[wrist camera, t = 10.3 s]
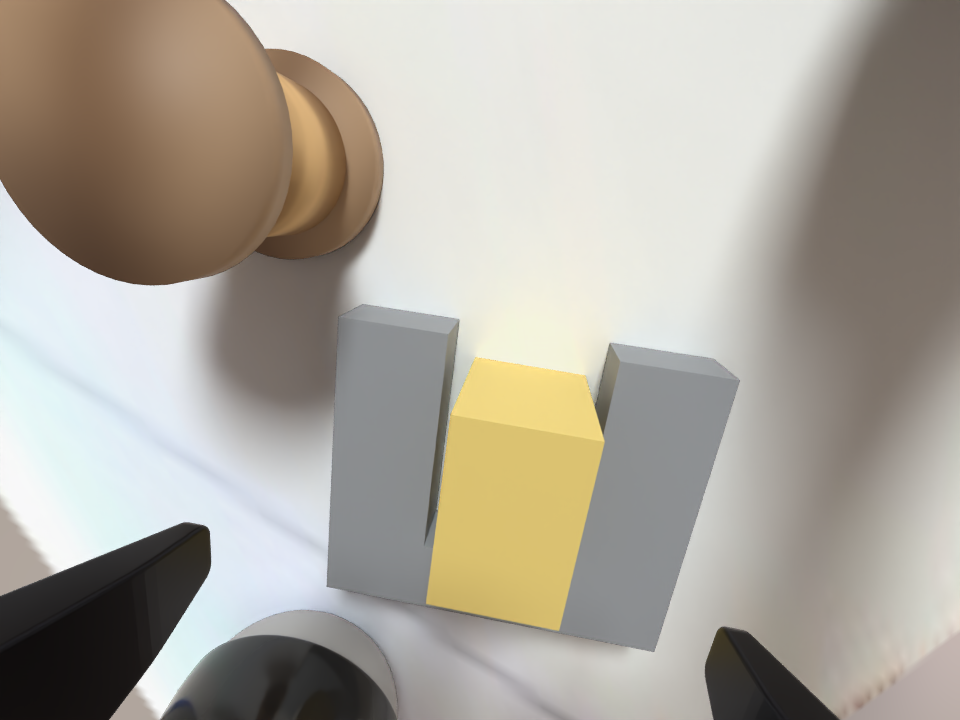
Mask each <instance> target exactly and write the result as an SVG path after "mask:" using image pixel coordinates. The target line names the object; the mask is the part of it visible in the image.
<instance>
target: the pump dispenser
mask: <svg viewBox="0 0 960 720" xmlns="http://www.w3.org/2000/svg"><path fill="white" fill-rule="evenodd" d="M160 720H398V704H397V695H396V688H395V684H394V680H393V676H392V673H391V670H390V668H389V665H388V663H387V661H386V659H385V657H384V656H383V654H382V652H381V651H380V649H379V648H378V647H377V645H376V644H375V643H374V641H373V640H372V639H371V638H370V637H369V636H368V635H367V634H365V633H364V632H363V631H362V630H361V629H359V628H358V627H357V626H355V625H354V624H352V623H351V622H349V621H347V620H345V619H343V618H340V617H338V616H335V615H333V614H329V613H325V612H320V611H313V610H295V611H287V612H283V613H279V614H275V615H272V616H269V617H267V618H264V619H262V620H260V621H258V622H256V623H254V624H252V625H250V626H249V627H247V628H245V629H244V630H242V631H241V632H239V633H238V634H237V635H235V636H234V637H233V638H232V639H230V640H229V641H228V642H226V643H224V644H222V645H220V646H218V647H216V648H215V649H213V650H212V651H210V652H209V653H208V654H207V655H206V656H204V657H203V658H202V659H201V661H200V662H199V663H198V664H197V665H196V666H195V668H194V669H193V670H192V672H191V673H190V674H189V676H188V677H187V678H186V680H185V681H184V682H183V684H182V685H181V687H180V688H179V690H178V691H177V693H176V694H175V696H174V697H173V699H172V700H171V702H170V704H169V705H168V707H167V708H166V710H165V712H164V713H163V715H162V717H161V718H160Z"/></svg>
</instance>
